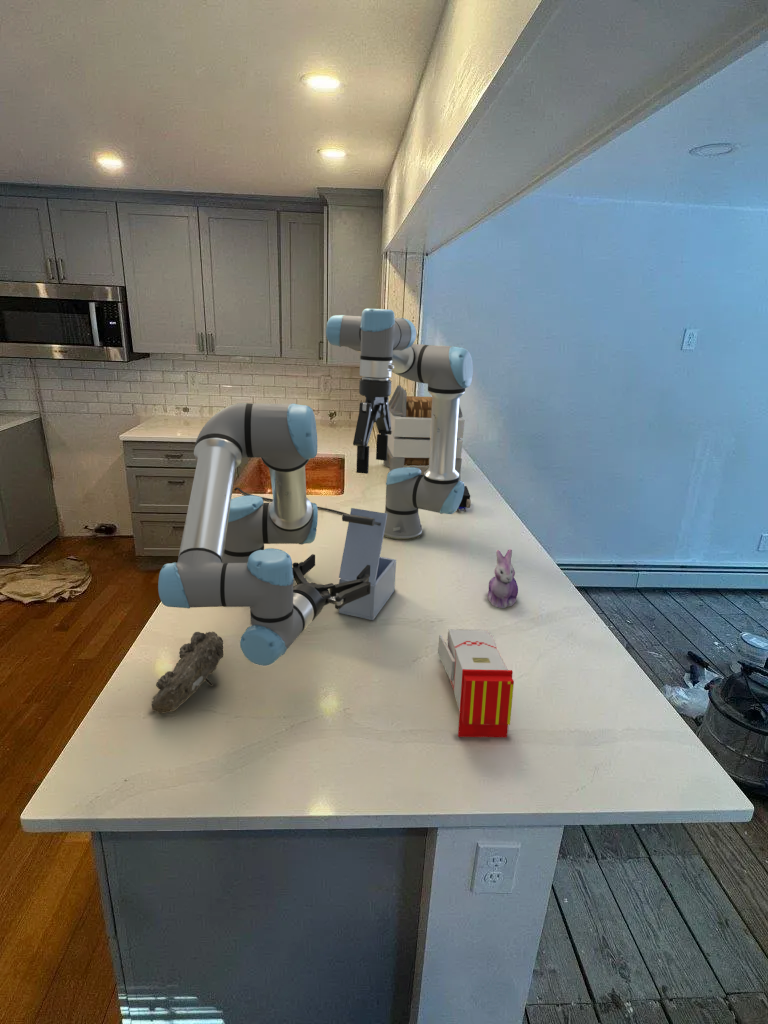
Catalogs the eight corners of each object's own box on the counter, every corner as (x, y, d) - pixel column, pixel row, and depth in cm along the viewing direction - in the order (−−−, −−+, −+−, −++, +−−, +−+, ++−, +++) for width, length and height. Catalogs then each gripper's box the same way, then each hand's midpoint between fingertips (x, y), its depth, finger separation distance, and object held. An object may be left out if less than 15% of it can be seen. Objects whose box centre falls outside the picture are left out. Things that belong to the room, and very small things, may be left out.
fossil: (177, 634, 126) (224, 603, 121) (207, 662, 129) (255, 633, 124) (129, 707, 107) (182, 674, 102) (165, 739, 110) (219, 708, 105)
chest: (363, 584, 162) (364, 553, 159) (394, 590, 160) (396, 559, 156) (338, 612, 147) (339, 579, 143) (373, 620, 144) (374, 586, 141)
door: (352, 508, 145) (340, 504, 137) (387, 513, 142) (378, 510, 134) (339, 577, 144) (327, 578, 136) (375, 584, 141) (364, 585, 133)
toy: (488, 613, 130) (523, 677, 101) (484, 667, 133) (517, 744, 104) (435, 612, 130) (455, 676, 101) (432, 666, 133) (451, 743, 103)
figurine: (500, 612, 150) (506, 561, 145) (477, 595, 159) (482, 546, 153) (527, 605, 154) (535, 555, 149) (504, 589, 163) (510, 541, 158)
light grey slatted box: (382, 463, 289) (386, 382, 275) (445, 464, 293) (451, 384, 279) (390, 482, 257) (394, 392, 243) (460, 483, 261) (468, 394, 247)
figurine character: (470, 516, 223) (465, 500, 237) (473, 499, 220) (467, 484, 233) (453, 516, 223) (449, 500, 236) (455, 498, 220) (451, 483, 233)
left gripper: (243, 612, 116) (292, 569, 134) (356, 639, 108) (391, 590, 127) (241, 579, 113) (291, 540, 132) (357, 604, 106) (393, 559, 124)
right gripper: (372, 385, 121) (368, 481, 128) (406, 374, 143) (401, 456, 150) (339, 382, 123) (338, 476, 130) (378, 372, 145) (375, 453, 152)
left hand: (340, 564), depth 129 cm, fingers open, 13 cm apart
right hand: (372, 466), depth 140 cm, fingers open, 13 cm apart
